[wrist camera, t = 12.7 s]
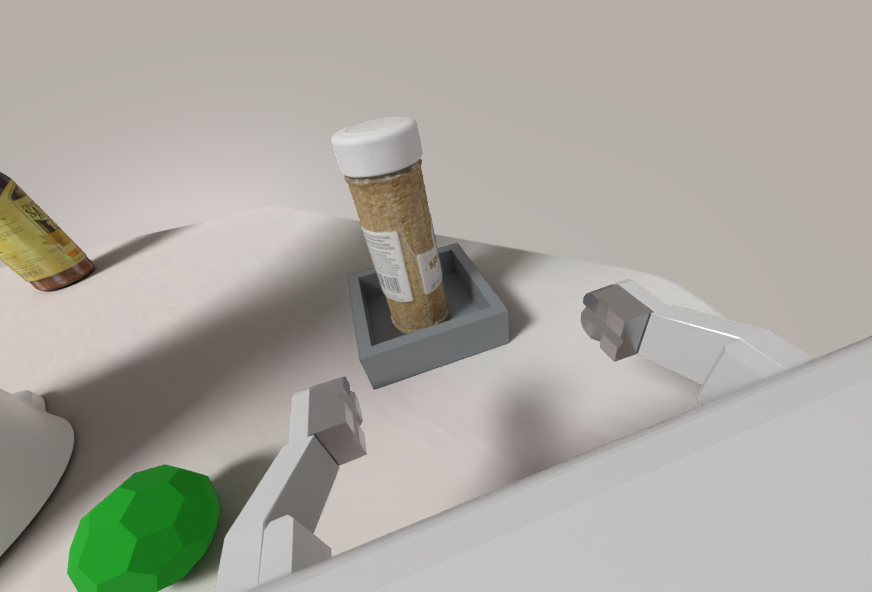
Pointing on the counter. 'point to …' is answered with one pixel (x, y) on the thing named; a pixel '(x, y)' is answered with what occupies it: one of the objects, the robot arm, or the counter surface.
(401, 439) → the counter surface
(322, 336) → the counter surface
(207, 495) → the polyhedron
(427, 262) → the sprinkles bottle
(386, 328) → the bin
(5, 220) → the sauce bottle
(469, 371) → the counter surface
